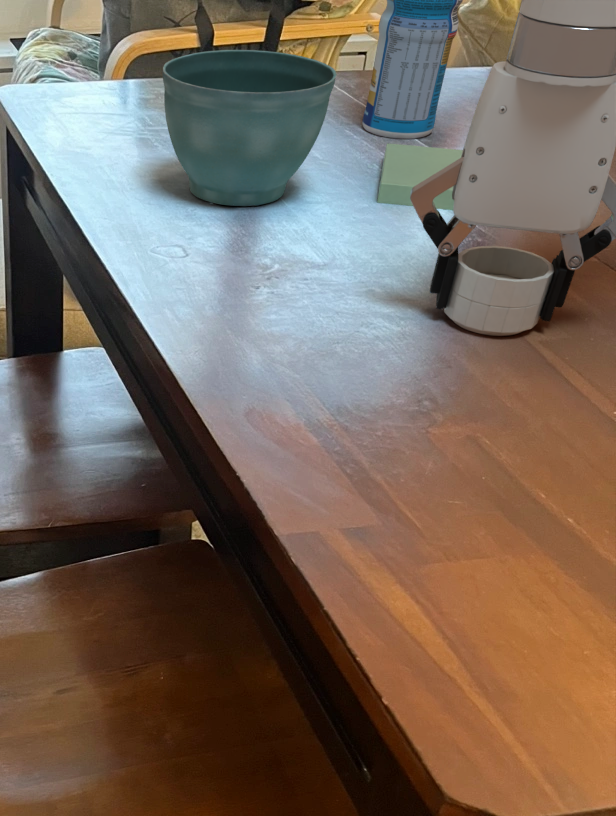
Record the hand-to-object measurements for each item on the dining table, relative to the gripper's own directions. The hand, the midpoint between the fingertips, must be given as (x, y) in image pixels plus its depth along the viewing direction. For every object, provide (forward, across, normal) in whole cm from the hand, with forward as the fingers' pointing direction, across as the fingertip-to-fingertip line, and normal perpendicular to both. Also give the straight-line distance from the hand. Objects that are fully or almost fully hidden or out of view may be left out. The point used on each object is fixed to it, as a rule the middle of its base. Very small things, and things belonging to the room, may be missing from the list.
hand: (492, 307), depth 83 cm
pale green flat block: (+1, +2, -33) cm, 33 cm away
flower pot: (+1, +24, -25) cm, 35 cm away
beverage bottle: (+1, +9, -53) cm, 54 cm away
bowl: (+1, 0, 0) cm, 1 cm away
